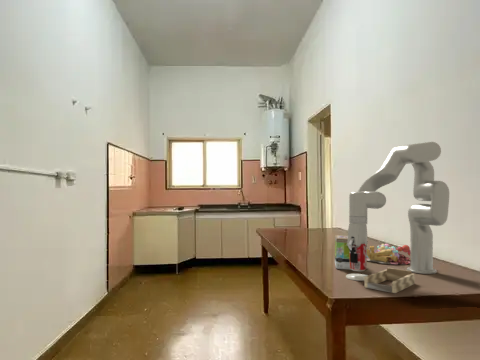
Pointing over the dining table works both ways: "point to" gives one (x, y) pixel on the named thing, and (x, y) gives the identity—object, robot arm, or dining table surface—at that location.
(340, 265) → the tea box
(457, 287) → the dining table surface
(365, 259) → the soda can
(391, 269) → the light wood rectangular frame
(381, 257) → the candy platter
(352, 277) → the coaster
